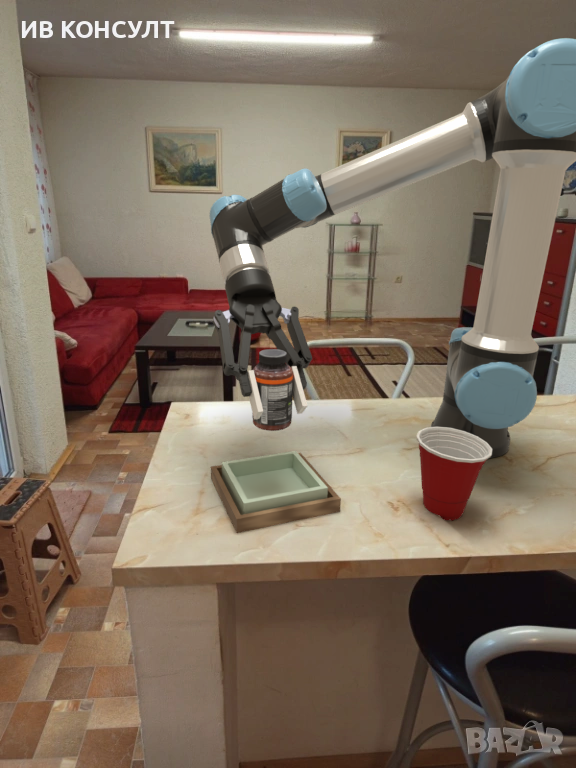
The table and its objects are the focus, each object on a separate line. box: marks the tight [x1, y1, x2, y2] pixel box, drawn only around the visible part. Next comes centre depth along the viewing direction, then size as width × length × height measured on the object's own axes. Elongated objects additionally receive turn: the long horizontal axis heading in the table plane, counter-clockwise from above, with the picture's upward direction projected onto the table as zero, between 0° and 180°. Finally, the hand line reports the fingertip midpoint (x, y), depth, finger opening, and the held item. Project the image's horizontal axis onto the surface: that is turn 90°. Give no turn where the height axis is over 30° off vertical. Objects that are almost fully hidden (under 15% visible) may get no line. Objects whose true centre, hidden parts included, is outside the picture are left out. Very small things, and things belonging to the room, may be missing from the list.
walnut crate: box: [210, 452, 342, 534], centre depth 81 cm, size 16×16×3 cm
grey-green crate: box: [221, 450, 328, 515], centre depth 81 cm, size 13×13×4 cm
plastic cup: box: [416, 426, 492, 521], centre depth 77 cm, size 11×11×12 cm
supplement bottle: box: [251, 348, 293, 432], centre depth 76 cm, size 6×6×11 cm
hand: (280, 412), depth 73 cm, fingers closed on supplement bottle, 6 cm apart
